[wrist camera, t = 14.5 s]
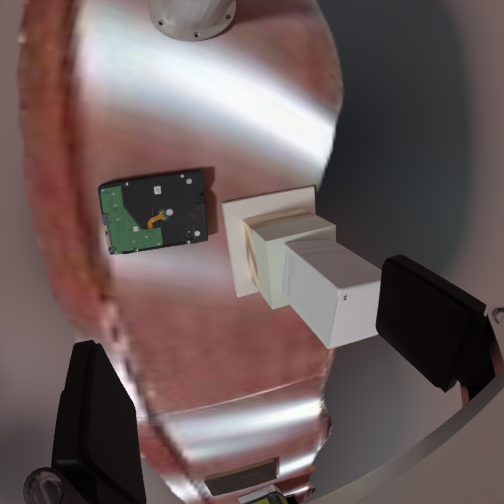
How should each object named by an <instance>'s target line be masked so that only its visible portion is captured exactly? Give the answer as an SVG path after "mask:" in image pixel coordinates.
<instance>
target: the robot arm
mask: <svg viewBox="0 0 504 504" xmlns="http://www.w3.org/2000/svg"><path fill="white" fill-rule="evenodd" d="M235 13H236V0H150V4H149V14H150V17H151V20H152V22H153V24H154V25H155V27H156V28H157V29H158V30H159V31H160V32H162V33H163V34H165V35H166V36H168V37H171V38H173V39H177V40H181V41H201V40H205V39H209V38H211V37H214V36H216V35H217V34H219V33H221V32H222V31H223V30H224V29H225V28H227V26H228V25H229V24H230V23H231V21H232V20H233V18H234V15H235ZM226 18H228V19H226ZM159 24H163V25H159ZM195 35H197V36H198V37H195ZM485 308H486V304H484V303H482V302H481V301H480V300H478V299H476V298H475V297H473V296H472V295H470V294H468V293H467V292H465V291H464V290H462V289H460V288H459V287H457V286H455V285H454V284H452V283H450V282H449V281H447V280H445V279H444V278H442V277H440V276H439V275H437V274H435V273H434V272H432V271H430V270H428V269H426V268H425V267H423V266H421V265H420V264H418V263H416V262H414V261H413V260H411V259H409V258H407V257H406V256H404V255H401V254H398V255H395V256H393V257H390V258H387V259H386V260H385V262H384V265H383V266H382V273H381V283H380V293H379V301H378V309H377V317H376V324H375V327H376V331H377V332H378V334H379V335H380V336H381V337H382V338H384V339H385V340H386V341H387V342H388V343H389V344H390V345H391V346H392V347H393V348H394V349H396V350H397V351H398V352H399V353H400V354H401V355H402V356H403V357H404V358H405V359H406V360H408V361H409V362H410V363H411V364H412V365H413V366H414V367H415V368H416V369H417V370H418V371H419V372H420V373H422V374H423V376H425V377H426V378H427V379H428V380H429V381H430V382H431V383H432V384H433V385H434V386H436V387H438V388H441V389H442V390H443V391H444V392H445V393H446V392H447V391H448V390H449V389H451V388H452V387H453V386H455V384H456V382H457V380H458V381H459V382H460V388H461V395H462V405H463V408H462V409H461V410H460V411H458V412H457V413H456V414H455V415H453V416H452V417H451V418H450V419H449V420H447V421H446V422H445V423H443V424H442V425H441V426H440V427H438V428H437V429H436V430H435V431H433V432H432V433H431V434H429V435H428V436H426V437H425V438H424V439H422V440H421V441H419V442H418V443H417V444H415V445H414V446H412V447H411V448H409V449H408V450H406V451H405V452H403V453H402V454H400V455H399V456H397V457H396V458H394V459H393V460H391V461H389V462H387V463H386V464H384V465H382V466H381V467H379V468H377V469H376V470H374V471H372V472H370V473H369V474H367V475H365V476H363V477H361V478H359V479H358V480H356V481H354V482H352V483H350V484H348V485H346V486H344V487H342V488H340V489H338V490H336V491H334V492H331V493H329V494H327V495H325V496H323V497H320V498H318V499H316V500H313V501H311V502H309V503H306V504H504V305H495V306H492V307H491V308H490V309H489V310H488V314H487V317H486V316H484V315H483V314H484V311H485ZM23 498H24V501H25V503H26V504H146V494H145V488H144V482H143V475H142V467H141V459H140V451H139V441H138V431H137V419H136V410H135V406H134V403H133V401H132V400H131V398H130V396H129V395H128V393H127V391H126V390H125V388H124V386H123V384H122V383H121V381H120V379H119V377H118V375H117V374H116V372H115V370H114V368H113V366H112V364H111V362H110V361H109V359H108V357H107V355H106V353H105V351H104V349H103V347H102V345H101V344H100V343H98V344H96V343H95V342H94V341H93V340H88V341H83V342H78V343H75V344H74V347H73V351H72V355H71V359H70V363H69V369H68V373H67V378H66V383H65V388H64V390H63V391H62V393H61V396H60V402H59V407H58V413H57V420H56V427H55V435H54V443H53V453H52V463H51V467H41V468H38V469H36V470H34V471H32V472H31V473H30V474H29V475H28V476H27V478H26V480H25V482H24V484H23Z"/></svg>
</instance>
